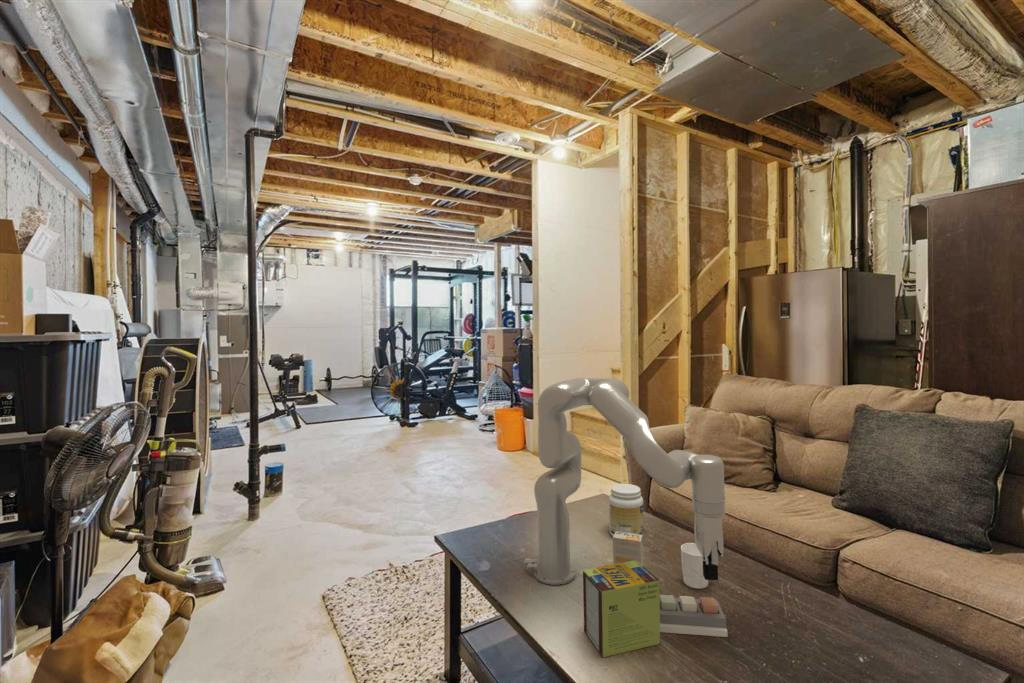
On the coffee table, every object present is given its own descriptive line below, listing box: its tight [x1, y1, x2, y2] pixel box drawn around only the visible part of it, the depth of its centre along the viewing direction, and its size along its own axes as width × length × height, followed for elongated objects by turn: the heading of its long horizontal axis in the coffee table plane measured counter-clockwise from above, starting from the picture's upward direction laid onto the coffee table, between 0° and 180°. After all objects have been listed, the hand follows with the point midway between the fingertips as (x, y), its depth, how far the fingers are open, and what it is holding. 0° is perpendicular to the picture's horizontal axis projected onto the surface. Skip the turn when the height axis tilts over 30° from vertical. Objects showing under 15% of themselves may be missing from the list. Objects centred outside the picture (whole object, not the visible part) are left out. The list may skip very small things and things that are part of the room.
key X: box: [679, 595, 697, 612], centre depth 119 cm, size 3×3×2 cm
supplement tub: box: [608, 483, 645, 537], centre depth 169 cm, size 12×12×17 cm
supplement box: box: [612, 531, 644, 566], centre depth 140 cm, size 8×5×13 cm, turn 65°
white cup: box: [680, 542, 709, 590], centre depth 137 cm, size 8×8×10 cm
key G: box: [699, 596, 718, 614], centre depth 119 cm, size 3×3×2 cm
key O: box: [659, 594, 676, 611], centre depth 120 cm, size 3×3×2 cm
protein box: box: [582, 560, 661, 658], centre depth 114 cm, size 10×15×16 cm
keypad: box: [659, 596, 729, 638], centre depth 120 cm, size 16×10×4 cm, turn 81°
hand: (710, 578), depth 118 cm, fingers closed
